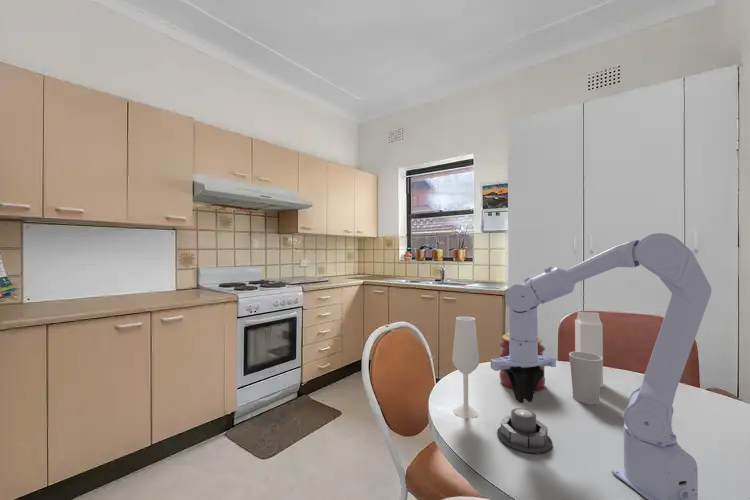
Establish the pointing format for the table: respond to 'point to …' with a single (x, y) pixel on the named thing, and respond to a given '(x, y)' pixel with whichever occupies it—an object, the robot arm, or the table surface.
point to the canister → (505, 352)
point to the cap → (523, 420)
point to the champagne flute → (465, 359)
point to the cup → (586, 376)
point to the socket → (525, 438)
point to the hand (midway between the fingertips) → (523, 400)
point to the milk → (589, 335)
